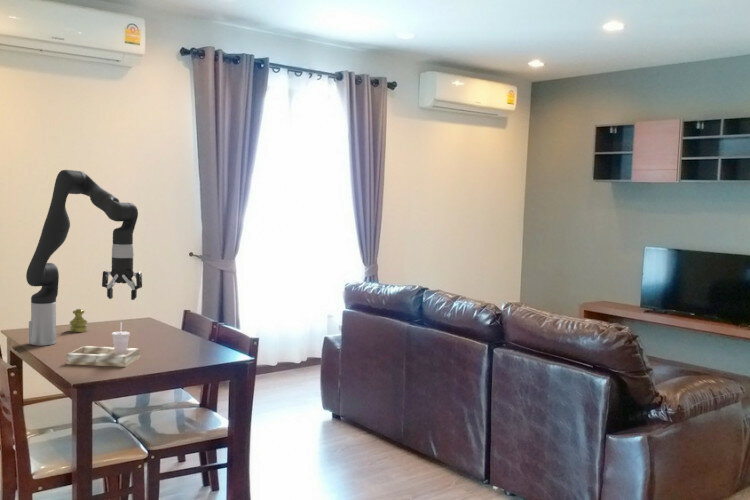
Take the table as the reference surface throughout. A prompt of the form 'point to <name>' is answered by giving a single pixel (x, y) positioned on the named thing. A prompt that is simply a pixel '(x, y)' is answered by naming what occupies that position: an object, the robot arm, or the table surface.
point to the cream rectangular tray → (102, 356)
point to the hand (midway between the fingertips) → (121, 299)
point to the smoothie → (120, 341)
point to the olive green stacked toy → (78, 322)
